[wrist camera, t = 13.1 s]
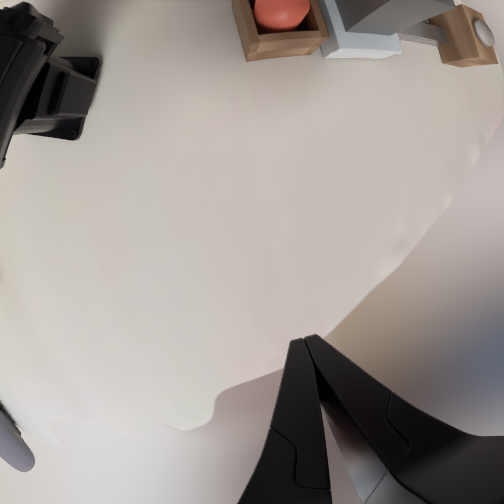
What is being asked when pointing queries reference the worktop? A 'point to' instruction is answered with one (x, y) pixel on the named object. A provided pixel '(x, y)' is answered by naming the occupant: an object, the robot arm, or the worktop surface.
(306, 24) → the cabinet
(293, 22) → the gauge button
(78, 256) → the worktop surface
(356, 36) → the plate
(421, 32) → the handrail
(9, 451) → the bluetooth speaker
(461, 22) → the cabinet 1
